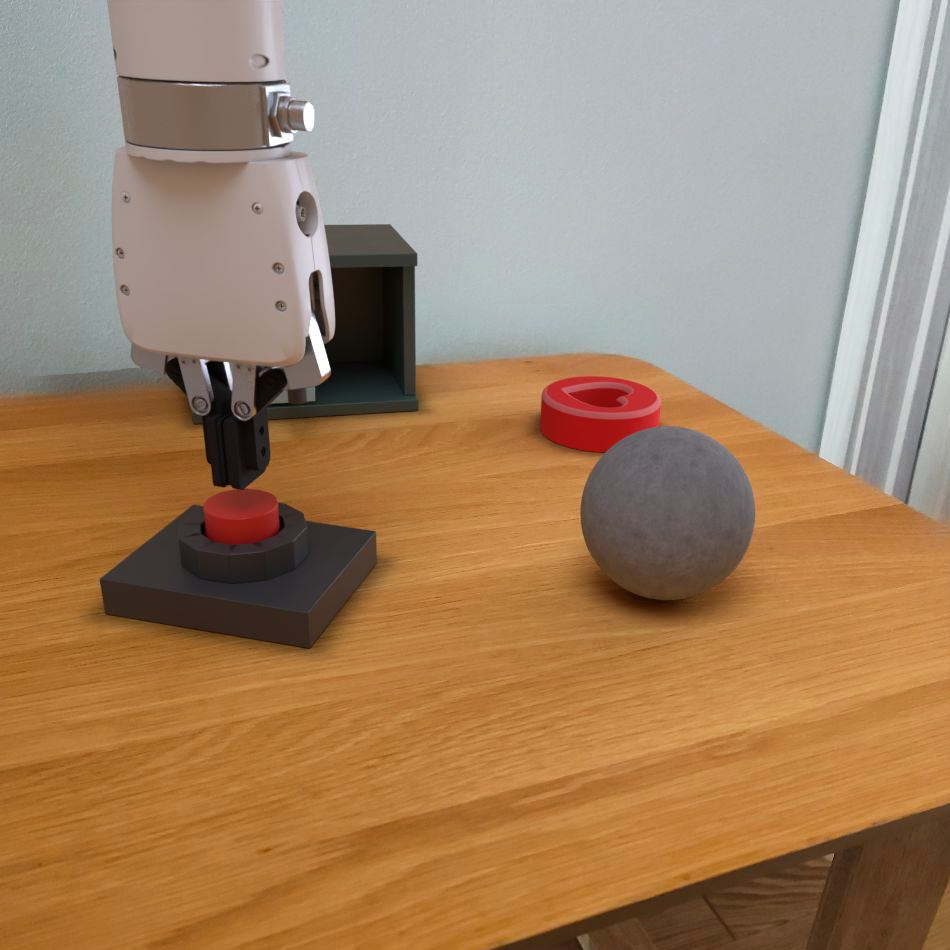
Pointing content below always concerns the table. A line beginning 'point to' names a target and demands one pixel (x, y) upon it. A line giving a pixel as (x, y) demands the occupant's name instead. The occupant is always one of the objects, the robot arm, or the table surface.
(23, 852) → the table surface
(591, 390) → the decorative ornament
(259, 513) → the button
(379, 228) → the cabinet
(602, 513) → the decorative ball
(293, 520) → the button box
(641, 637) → the table surface
